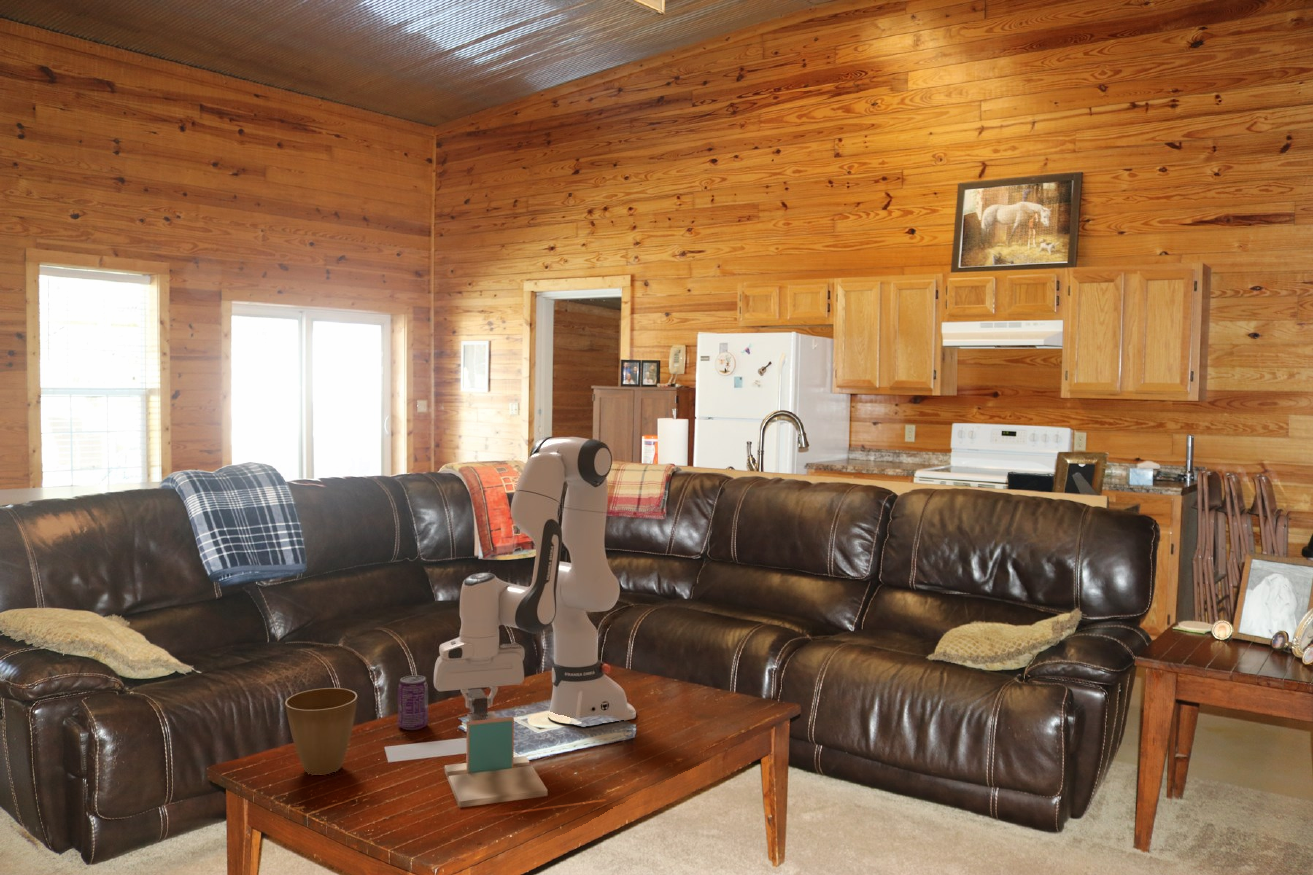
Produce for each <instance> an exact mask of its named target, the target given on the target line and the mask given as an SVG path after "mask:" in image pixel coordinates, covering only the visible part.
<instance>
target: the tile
mask: <svg viewBox="0 0 1313 875" xmlns="http://www.w3.org/2000/svg"><path fill="white" fill-rule="evenodd" d="M514 730H515V719H514V716H509V717H508V716H507V717H498V718H496V719H486V720H477V721H469V720H468V721H466V738H467V740H466V755H465V756H466V757H465V758H466V759H465V760H466V762H465V763H466V774H469V773H477V772H485V771H494V770H502V769H510V768H513V764H514V757H515V753H514V750H515V748H514V746H515V745H514V744H515V743H514V742H515V741H514V740H515V732H514Z"/></svg>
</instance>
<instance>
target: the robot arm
mask: <svg viewBox="0 0 1313 875" xmlns="http://www.w3.org/2000/svg"><path fill="white" fill-rule="evenodd" d="M612 466H613V456H612V452H611V450H610V448H609V445H608V444H607V443H606V442H604V441H601V440H599V439H594V438H585V437H578V436H567V437H566V436H558V437H555V436H546V437H545V436H544V437H542V438H539V439H537V441H536V442H535V443H534V445H533V446H532V448H531V450H530V453H529V457H528V459H527V461H526V463H525V464H524V466H523V469H522V471H521V474H520V476H519V478H518V481H517V484H516V487H515V490H514V493H513V497H512V500H511V505H510V517H511V520H512V522H513V523H514V525H515V526H516V528H517V529H518V530H519V531H520V532H521V533H523V534H524V535H526V536H527V537H528V538H529V539H530V540H531V541H532V542H533V544H534V547H535V557H534V566H533V574H532V580H531V584H530V586H524V585H519V584H515V583H512V582H507V581H504V580H502V579H500V578H498V577H497V576H496V574H494V573H491V572H479V573H474V574H471V575H469V576H467V577H466V578H465V579H464V580H463V581H462V585H461V589H460V595H459V596H460V597H459V618H460V621H461V624H460V629H459V636H458V637H456V638H453V639H451V640H447V641H445V642H443V643H441V644H440V645H439V649H438V650H439V651H438V652H439V656H437V659H436V660H435V663H434V669H433V670H434V671H433V687H434V688H435V690H437V691H438V692H445V691H446V692H447V691H458V690H460V693H461V694H462V696H463V698H464V700H465V708H466V709H469V708H471V707H473V699H472V698H468V690H470V689H483V688H489V689H490V693H489V695H488V696H487V695H486V696H487V707H492V706H494V701H493V700H494V698H495V697H496V695H497V694H498V691H499V687H504V686H505V687H506V686H514V685H516V686H517V685H522V683H523V682H524V680H525V670H524V663H523V661H524V659H525V657H526V656H525V652H526V651H525V648H524V647H523V645H521V644H519V643H517V642H516V643H514V642H513V643H500V628H499V627H500V626H501V625H503V626H506V627H510V628H514V629H520V630H521V631H524V632H527V633H530V634H532V635H535V634H536V635H537V634H540V633H542V632H543V631H545V630H547V629H548V628H549V626H552V631H553V654H554V655H553V656H554V657H553V661H552V668H551V681H552V693H551V700H550V705H549V709H548V712H549V711H550V712H553V713H555V714H558V715H564V716H567V717H570V718H583V717H588V716H595V715H610V716H613V717H614V718H618V719H621V720H624V721H628V720H633V719H635V718H636V717H637V711H636V709H635V708H634V706H633V705H632V704H630V703H629V702H628V701H627V695H626V692H625V690H624V689H623V688H622V686H621V685H620V684H618V683H617V682H616V681H614V680H613V679H612V678H611V677H609V676H607V675H606V674H609V673H610V672H611V666H610V664H608V663H605V662H603V661H601V660H599V659H598V658H599V657H598V652H599V651H598V649H599V648H598V646H599V645H598V642H599V641H598V640H599V639H598V638H599V634H598V630H597V628H596V626H595V625H594V624H593V622H592V621H591V620H590V619H589V616H588V614H587V612H589V613H591V612H592V613H593V612H595V613H596V612H597V613H598V612H606V611H610V610H612V608H613V607H614V606H615V605H616V603H617V602H618V600H619V598H620V591H621V590H620V587H621V586H620V583H619V580H618V578H617V576H616V575H615V574H614V573H613V571H612V569H611V567H610V565H609V563H608V562H609V561H608V559H607V554H606V548H605V535H606V532H605V531H606V522H607V521H606V520H607V513H608V512H607V511H608V501H609V500H608V499H609V498H608V497H609V495H608V492H609V490H608V489H609V488H608V479H607V477H608V476H609V474H610V472H611V469H612ZM564 483H566V484H567V487H566V488H567V489H566V493H565V497H564V504H563V509H562V510H563V511H562V520H561V525H560V523H559V518H558V517H559V515H558V514H559V508H560V503H561V499H562V495H563V494H562V493H563V490H564ZM563 544H564V546H565V547H566V549H567V551H568V553H569V558H570V562H566V561H561V555H562V554H561V553H562V546H563Z"/></svg>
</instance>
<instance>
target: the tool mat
mask: <svg viewBox="0 0 1313 875" xmlns="http://www.w3.org/2000/svg"><path fill="white" fill-rule="evenodd" d="M466 740H467V737H461V738H455V739H454V738H452V739H451V738H450V739H444V740H434V741H427V742H417V743H416V742H415V743H409V744H408V743H407V744H398V745H397V744H396V745H389V746H384V752H385V755H386V756H385V757H386V759H387V763H388V764H389V763H394V762H396V763H397V762H402V761H413V760H422V759H423V760H424V759H428V758H430V759H431V758H438V757H448V756H456V755H464V754H466ZM389 765H390V764H389Z"/></svg>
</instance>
